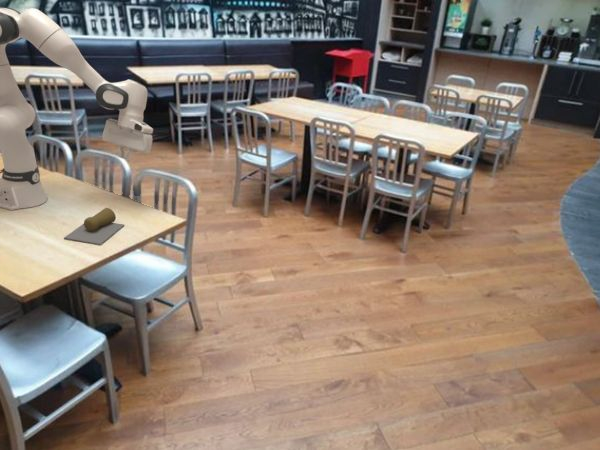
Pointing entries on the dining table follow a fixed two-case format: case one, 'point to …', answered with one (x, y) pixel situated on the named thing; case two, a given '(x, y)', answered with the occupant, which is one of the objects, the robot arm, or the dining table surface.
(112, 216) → the cork
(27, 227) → the dining table surface
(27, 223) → the dining table surface
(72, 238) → the rubber mat
